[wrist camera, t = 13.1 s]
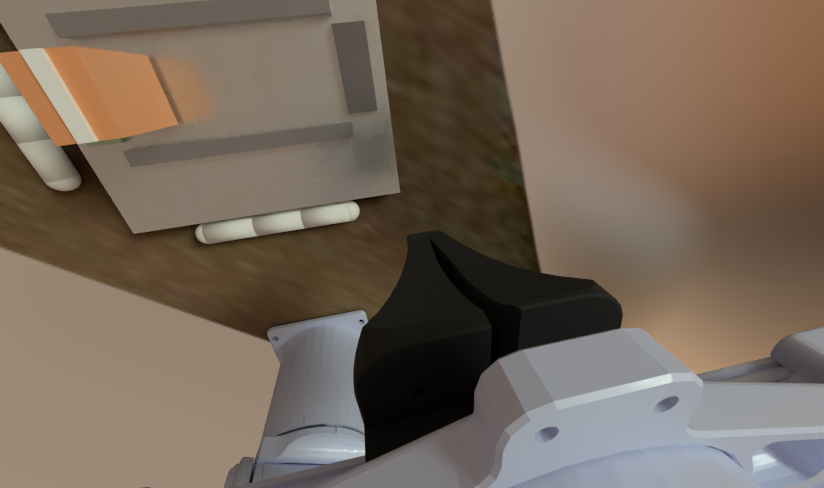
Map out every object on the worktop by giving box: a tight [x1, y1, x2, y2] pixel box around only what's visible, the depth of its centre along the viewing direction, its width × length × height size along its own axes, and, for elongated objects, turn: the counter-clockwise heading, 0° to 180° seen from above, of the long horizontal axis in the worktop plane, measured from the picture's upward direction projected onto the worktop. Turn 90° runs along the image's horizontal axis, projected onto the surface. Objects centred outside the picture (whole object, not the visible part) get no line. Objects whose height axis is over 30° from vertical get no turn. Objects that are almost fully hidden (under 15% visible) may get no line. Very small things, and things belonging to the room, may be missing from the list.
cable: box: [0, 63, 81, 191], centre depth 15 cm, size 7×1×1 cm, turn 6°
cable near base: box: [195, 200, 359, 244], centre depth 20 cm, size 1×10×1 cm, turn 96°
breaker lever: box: [0, 46, 178, 146], centre depth 12 cm, size 3×2×4 cm
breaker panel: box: [0, 0, 400, 234], centre depth 15 cm, size 14×16×2 cm
